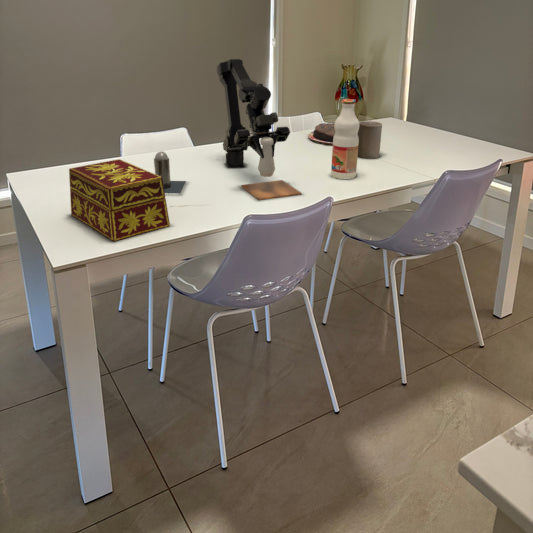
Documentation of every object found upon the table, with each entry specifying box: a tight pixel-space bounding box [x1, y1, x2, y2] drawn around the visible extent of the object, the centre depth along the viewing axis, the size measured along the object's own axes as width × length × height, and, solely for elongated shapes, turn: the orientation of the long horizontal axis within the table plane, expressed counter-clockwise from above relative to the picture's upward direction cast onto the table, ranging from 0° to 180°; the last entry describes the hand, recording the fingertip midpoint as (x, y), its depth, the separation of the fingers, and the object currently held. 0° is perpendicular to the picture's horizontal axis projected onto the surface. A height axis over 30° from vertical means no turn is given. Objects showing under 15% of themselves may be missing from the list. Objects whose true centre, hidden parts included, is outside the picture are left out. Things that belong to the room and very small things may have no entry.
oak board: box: [240, 179, 302, 201], centre depth 205 cm, size 16×16×1 cm
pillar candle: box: [357, 119, 383, 160], centre depth 245 cm, size 10×10×15 cm
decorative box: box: [68, 158, 171, 242], centre depth 175 cm, size 28×19×15 cm
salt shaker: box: [257, 137, 276, 178], centre depth 200 cm, size 6×6×13 cm
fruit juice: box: [330, 98, 360, 180], centre depth 216 cm, size 9×9×28 cm
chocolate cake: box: [307, 122, 335, 146], centre depth 274 cm, size 28×28×7 cm
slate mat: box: [164, 180, 187, 195], centre depth 206 cm, size 14×14×1 cm
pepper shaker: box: [153, 151, 172, 189], centre depth 204 cm, size 5×5×12 cm
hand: (268, 157), depth 198 cm, fingers closed on salt shaker, 3 cm apart
